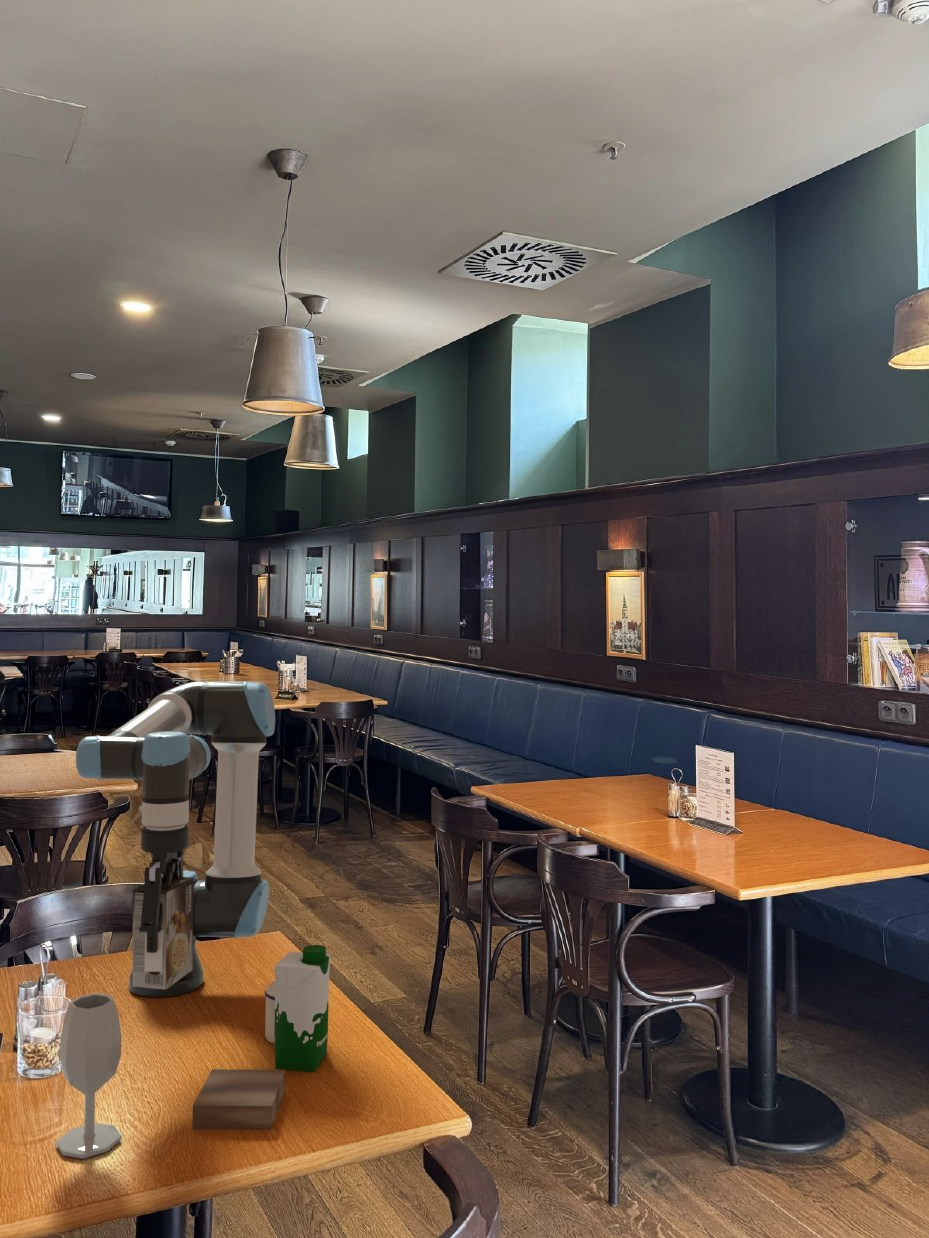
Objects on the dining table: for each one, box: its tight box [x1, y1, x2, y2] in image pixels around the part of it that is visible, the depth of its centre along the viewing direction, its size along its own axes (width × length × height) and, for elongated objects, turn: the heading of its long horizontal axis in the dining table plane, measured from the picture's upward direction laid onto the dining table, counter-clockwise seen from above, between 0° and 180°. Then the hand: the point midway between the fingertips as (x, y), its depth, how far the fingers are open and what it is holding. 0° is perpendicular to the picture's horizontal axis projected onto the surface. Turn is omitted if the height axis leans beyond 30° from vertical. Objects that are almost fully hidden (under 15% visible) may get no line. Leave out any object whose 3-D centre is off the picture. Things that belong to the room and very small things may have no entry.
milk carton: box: [274, 944, 332, 1073], centre depth 169 cm, size 9×9×20 cm
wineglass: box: [55, 992, 123, 1160], centre depth 141 cm, size 9×9×21 cm
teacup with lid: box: [264, 981, 275, 1045], centre depth 181 cm, size 12×9×12 cm
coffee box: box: [131, 877, 193, 990], centre depth 160 cm, size 9×6×16 cm
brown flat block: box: [191, 1068, 286, 1131], centre depth 152 cm, size 12×12×4 cm
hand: (163, 959), depth 160 cm, fingers closed on coffee box, 10 cm apart
